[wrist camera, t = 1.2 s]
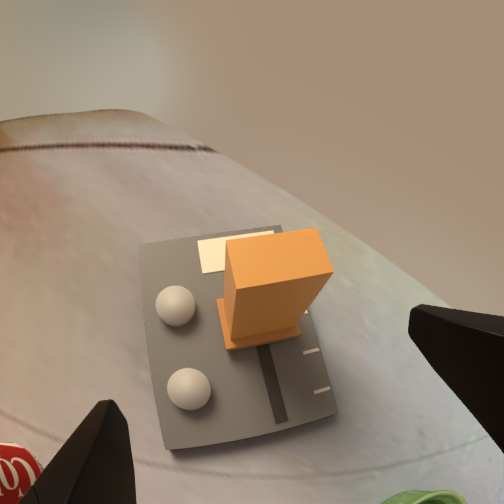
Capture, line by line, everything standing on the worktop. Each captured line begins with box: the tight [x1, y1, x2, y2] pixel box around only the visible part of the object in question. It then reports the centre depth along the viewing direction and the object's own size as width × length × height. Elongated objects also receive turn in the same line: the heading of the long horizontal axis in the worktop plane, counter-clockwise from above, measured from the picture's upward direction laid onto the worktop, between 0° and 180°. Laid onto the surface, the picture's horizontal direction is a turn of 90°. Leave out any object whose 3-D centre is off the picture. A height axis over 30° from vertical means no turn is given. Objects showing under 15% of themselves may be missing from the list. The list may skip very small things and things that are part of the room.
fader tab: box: [216, 228, 334, 351], centre depth 17 cm, size 4×5×9 cm
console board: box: [140, 225, 338, 450], centre depth 21 cm, size 16×12×2 cm
